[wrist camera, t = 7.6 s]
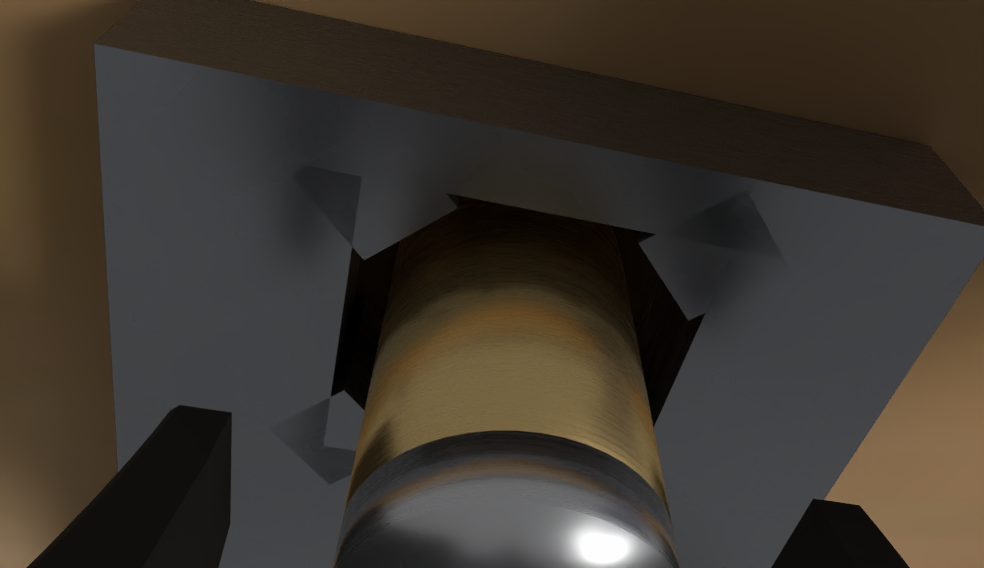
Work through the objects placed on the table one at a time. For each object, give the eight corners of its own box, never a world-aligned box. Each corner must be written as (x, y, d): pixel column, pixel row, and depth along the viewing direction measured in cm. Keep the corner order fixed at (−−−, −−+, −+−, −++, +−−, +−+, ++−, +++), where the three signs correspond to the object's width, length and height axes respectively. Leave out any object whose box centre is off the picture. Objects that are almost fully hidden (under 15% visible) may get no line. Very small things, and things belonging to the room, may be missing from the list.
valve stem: (669, 263, 15) (764, 617, 9) (518, 392, 17) (521, 756, 11) (495, 126, 14) (482, 442, 8) (351, 282, 16) (256, 632, 10)
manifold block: (930, 145, 14) (1001, 230, 12) (652, 637, 22) (666, 737, 20) (162, -19, 13) (93, 43, 10) (166, 567, 21) (129, 667, 19)
